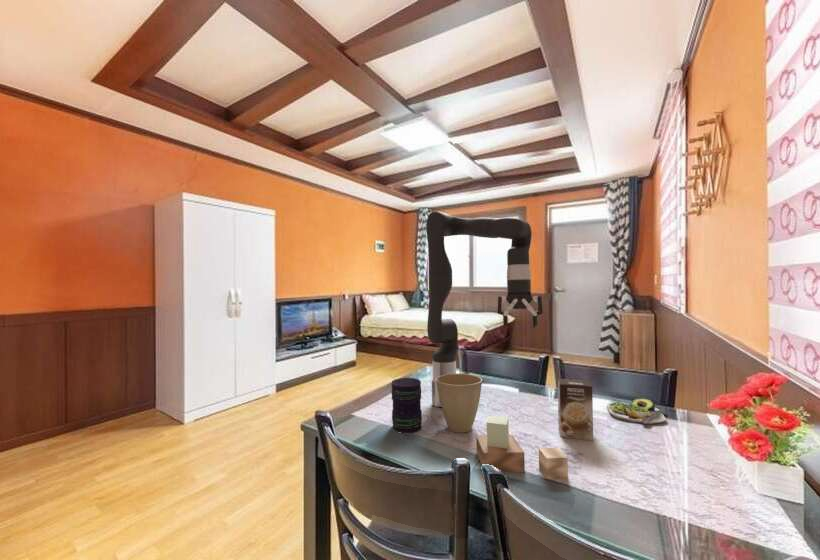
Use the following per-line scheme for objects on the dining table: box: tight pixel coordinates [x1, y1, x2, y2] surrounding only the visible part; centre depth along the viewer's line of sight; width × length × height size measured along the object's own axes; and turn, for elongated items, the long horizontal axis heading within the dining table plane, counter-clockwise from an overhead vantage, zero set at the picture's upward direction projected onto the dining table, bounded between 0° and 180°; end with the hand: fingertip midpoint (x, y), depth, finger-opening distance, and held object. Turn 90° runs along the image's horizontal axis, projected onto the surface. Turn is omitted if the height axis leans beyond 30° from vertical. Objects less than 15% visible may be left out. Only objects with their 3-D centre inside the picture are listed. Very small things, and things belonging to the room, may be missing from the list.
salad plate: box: [606, 398, 666, 425], centre depth 117 cm, size 19×18×5 cm
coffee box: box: [557, 378, 594, 442], centre depth 104 cm, size 9×6×16 cm
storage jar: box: [391, 377, 423, 434], centre depth 112 cm, size 10×10×15 cm
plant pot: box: [436, 373, 483, 434], centre depth 110 cm, size 15×15×16 cm
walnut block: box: [475, 434, 526, 473], centre depth 89 cm, size 10×10×5 cm
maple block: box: [538, 447, 569, 480], centre depth 83 cm, size 5×5×5 cm
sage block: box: [486, 415, 510, 449], centre depth 89 cm, size 5×5×6 cm
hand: (520, 327), depth 113 cm, fingers open, 8 cm apart
